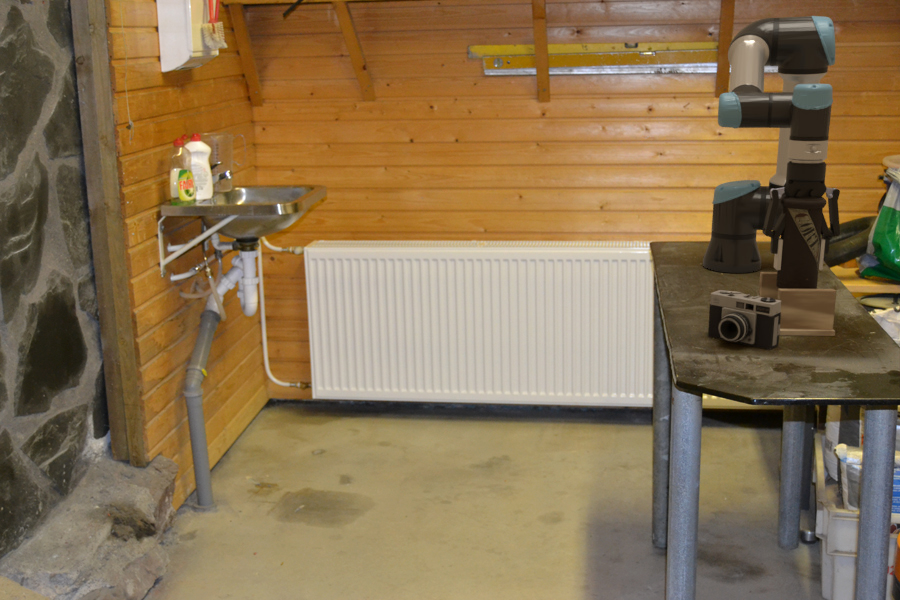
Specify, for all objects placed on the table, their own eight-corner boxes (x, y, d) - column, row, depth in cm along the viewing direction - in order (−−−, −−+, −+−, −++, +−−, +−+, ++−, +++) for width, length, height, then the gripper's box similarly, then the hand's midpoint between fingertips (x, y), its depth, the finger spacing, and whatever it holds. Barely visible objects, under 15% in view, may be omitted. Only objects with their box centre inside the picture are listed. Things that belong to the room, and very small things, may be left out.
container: (796, 295, 184) (804, 199, 179) (765, 285, 192) (772, 193, 187) (827, 290, 188) (836, 195, 182) (796, 281, 196) (803, 190, 190)
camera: (694, 338, 182) (698, 291, 179) (721, 331, 187) (726, 285, 185) (753, 355, 171) (758, 305, 168) (780, 347, 176) (786, 298, 174)
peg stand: (755, 308, 202) (758, 270, 200) (805, 309, 201) (809, 270, 199) (779, 335, 183) (782, 293, 181) (834, 335, 182) (838, 293, 180)
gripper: (759, 163, 180) (751, 272, 186) (865, 162, 178) (854, 272, 184) (751, 159, 187) (743, 264, 193) (852, 158, 186) (842, 264, 192)
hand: (797, 268), depth 189 cm, fingers closed on container, 8 cm apart
